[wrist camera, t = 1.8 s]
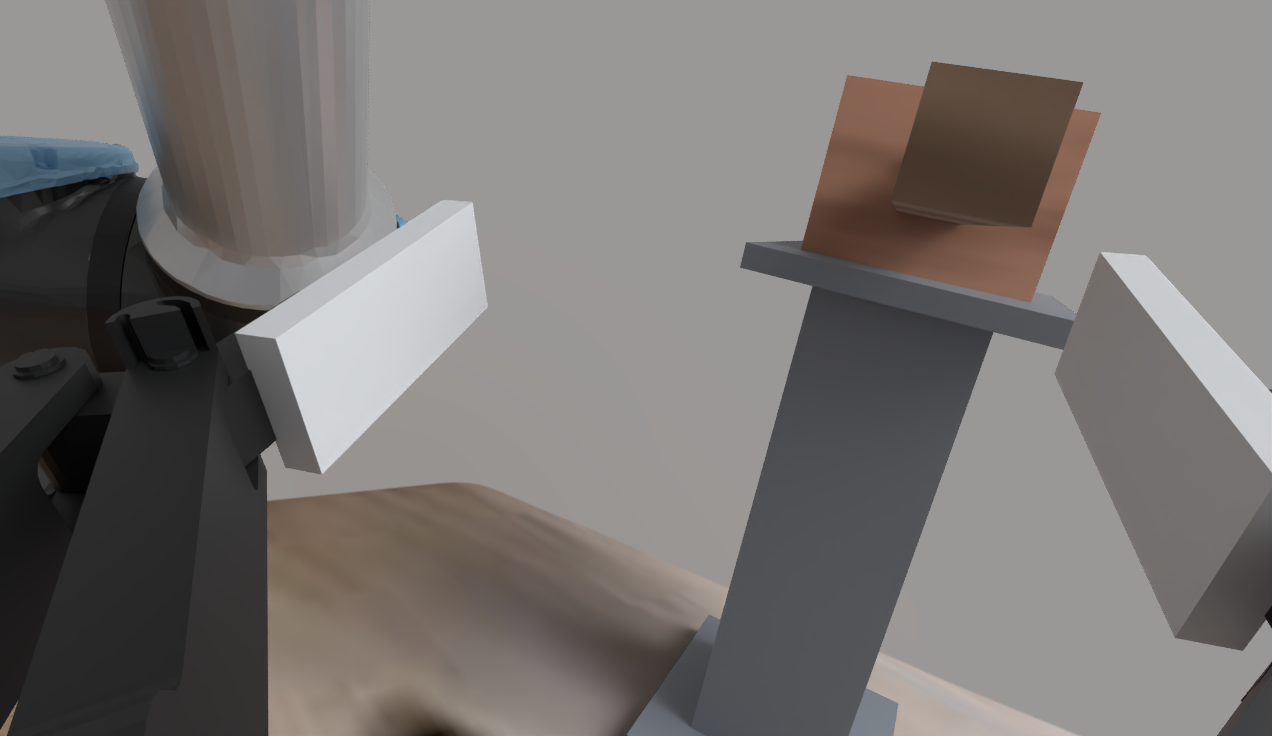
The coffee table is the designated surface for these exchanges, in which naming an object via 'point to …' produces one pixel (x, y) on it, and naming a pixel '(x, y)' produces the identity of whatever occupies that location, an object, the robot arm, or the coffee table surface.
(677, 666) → the plinth
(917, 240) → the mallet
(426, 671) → the coffee table surface
